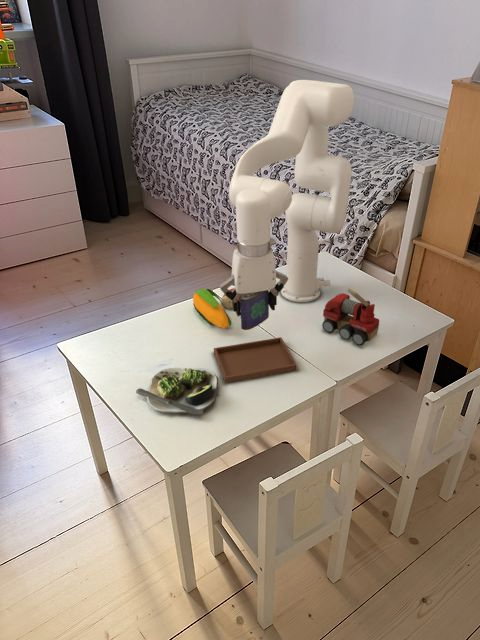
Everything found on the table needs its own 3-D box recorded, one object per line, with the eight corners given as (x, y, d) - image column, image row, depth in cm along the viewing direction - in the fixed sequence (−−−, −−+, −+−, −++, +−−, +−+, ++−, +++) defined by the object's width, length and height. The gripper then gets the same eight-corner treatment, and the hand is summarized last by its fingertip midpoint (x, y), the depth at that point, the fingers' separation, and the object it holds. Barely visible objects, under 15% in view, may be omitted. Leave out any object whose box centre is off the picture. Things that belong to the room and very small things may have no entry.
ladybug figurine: (216, 306, 164) (215, 296, 162) (231, 292, 171) (231, 282, 169) (235, 312, 163) (235, 302, 160) (250, 297, 170) (250, 287, 167)
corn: (208, 278, 162) (239, 310, 149) (211, 300, 167) (241, 332, 154) (185, 286, 159) (214, 318, 146) (189, 307, 164) (218, 341, 151)
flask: (264, 312, 140) (264, 276, 133) (272, 317, 139) (272, 281, 132) (238, 327, 135) (237, 290, 128) (246, 332, 134) (245, 295, 127)
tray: (281, 342, 151) (281, 337, 150) (296, 370, 142) (296, 364, 141) (213, 353, 146) (213, 348, 145) (225, 383, 137) (224, 377, 136)
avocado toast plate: (130, 419, 125) (127, 404, 123) (144, 371, 139) (142, 357, 136) (213, 420, 126) (212, 405, 123) (219, 372, 140) (218, 358, 137)
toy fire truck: (335, 317, 162) (340, 263, 151) (380, 336, 155) (389, 281, 144) (313, 333, 155) (317, 278, 144) (359, 354, 148) (368, 298, 137)
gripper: (284, 234, 128) (283, 297, 139) (212, 243, 124) (217, 307, 135) (295, 248, 123) (292, 313, 134) (220, 258, 118) (224, 324, 130)
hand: (254, 310), depth 135 cm, fingers closed on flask, 8 cm apart
